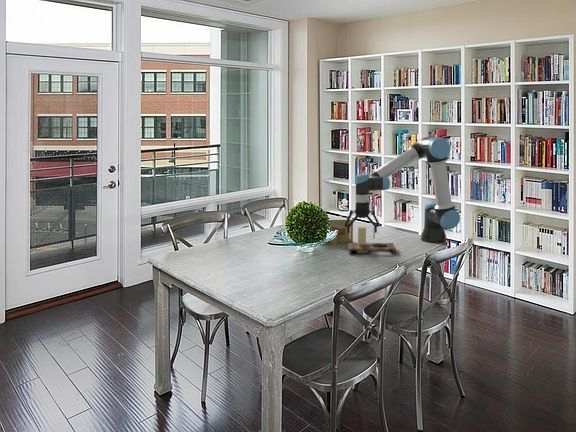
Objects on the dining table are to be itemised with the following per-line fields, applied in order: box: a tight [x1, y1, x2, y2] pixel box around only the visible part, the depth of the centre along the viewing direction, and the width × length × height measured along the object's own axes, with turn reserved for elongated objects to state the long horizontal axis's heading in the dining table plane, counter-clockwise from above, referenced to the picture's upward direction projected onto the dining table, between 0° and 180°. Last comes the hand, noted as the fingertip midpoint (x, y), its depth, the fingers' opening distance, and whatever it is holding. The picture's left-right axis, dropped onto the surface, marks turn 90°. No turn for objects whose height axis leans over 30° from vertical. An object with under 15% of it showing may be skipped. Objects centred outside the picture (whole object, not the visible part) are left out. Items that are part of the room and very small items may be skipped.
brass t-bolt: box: [355, 226, 369, 254], centre depth 288 cm, size 6×6×14 cm
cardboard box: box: [329, 219, 354, 246], centre depth 308 cm, size 23×9×15 cm, turn 84°
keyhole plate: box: [347, 242, 397, 255], centre depth 288 cm, size 26×13×4 cm, turn 86°
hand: (361, 238), depth 288 cm, fingers open, 13 cm apart
